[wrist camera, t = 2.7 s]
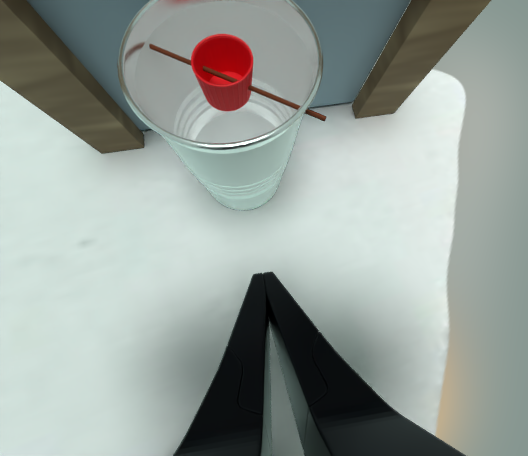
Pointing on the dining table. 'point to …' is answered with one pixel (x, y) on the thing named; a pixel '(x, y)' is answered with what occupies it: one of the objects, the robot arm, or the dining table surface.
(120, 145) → the door frame
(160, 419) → the dining table surface
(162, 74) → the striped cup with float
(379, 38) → the door
